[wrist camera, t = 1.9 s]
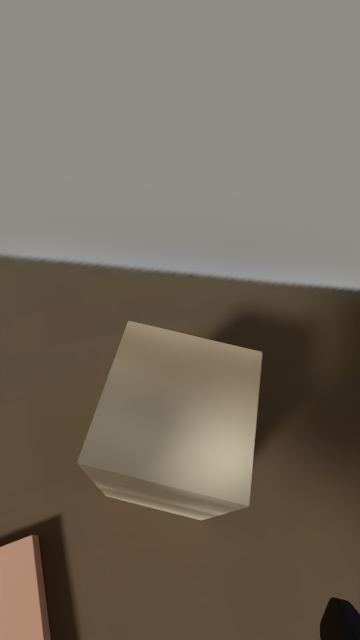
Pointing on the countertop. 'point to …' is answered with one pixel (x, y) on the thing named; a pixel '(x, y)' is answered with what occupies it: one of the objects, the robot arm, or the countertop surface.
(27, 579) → the terracotta tile
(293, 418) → the countertop surface
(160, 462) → the birch block
